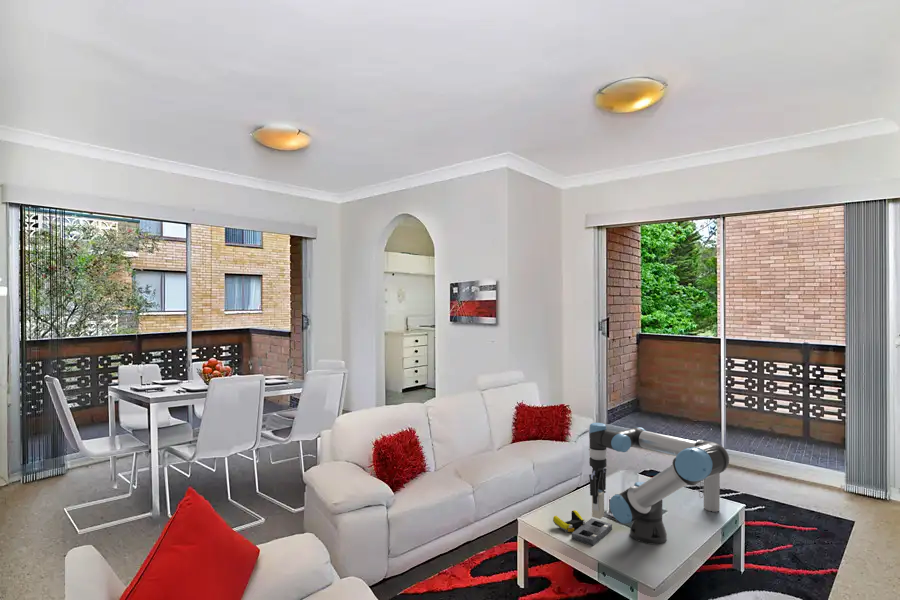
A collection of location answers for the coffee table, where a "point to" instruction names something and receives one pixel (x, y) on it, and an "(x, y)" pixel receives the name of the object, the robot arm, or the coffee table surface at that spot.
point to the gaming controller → (570, 522)
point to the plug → (599, 513)
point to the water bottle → (712, 493)
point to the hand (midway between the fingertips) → (598, 508)
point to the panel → (591, 531)
